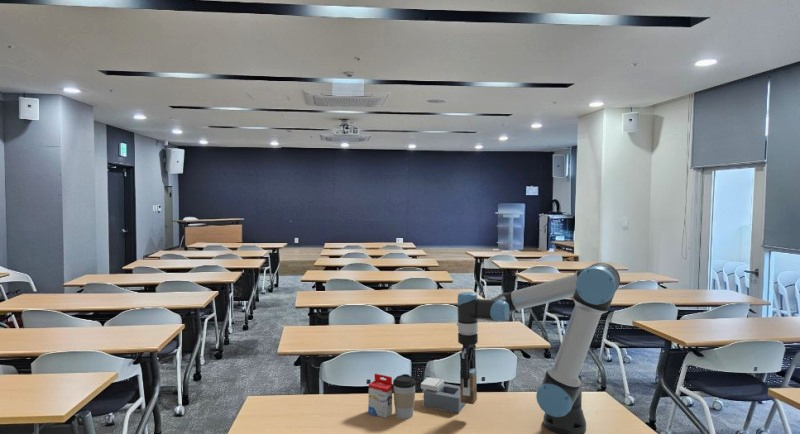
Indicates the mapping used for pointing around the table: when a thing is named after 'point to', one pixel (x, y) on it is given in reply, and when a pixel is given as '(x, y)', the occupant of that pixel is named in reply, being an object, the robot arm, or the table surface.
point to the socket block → (444, 398)
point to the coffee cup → (404, 396)
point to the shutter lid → (432, 384)
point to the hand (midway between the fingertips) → (468, 392)
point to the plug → (473, 388)
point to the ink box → (380, 396)
